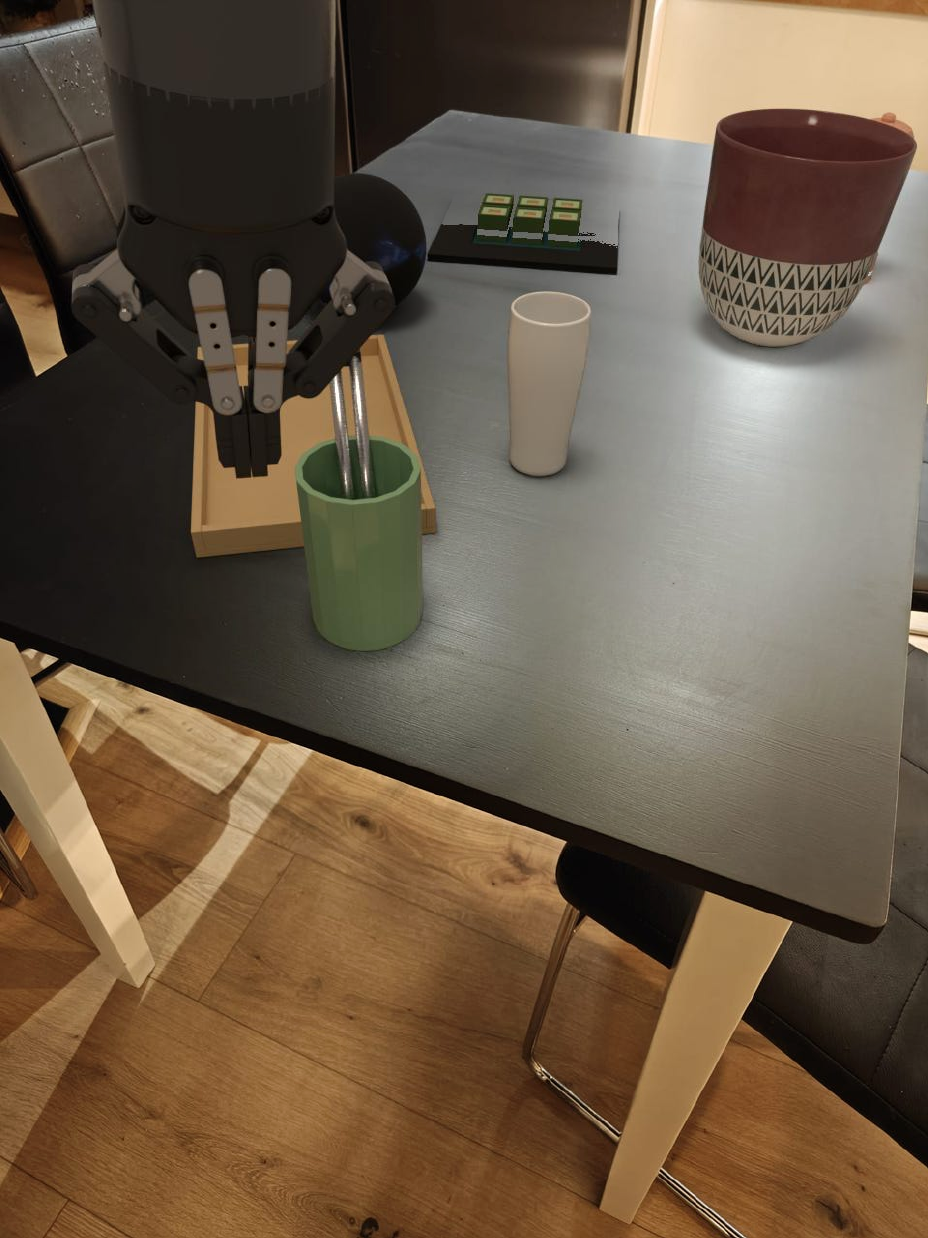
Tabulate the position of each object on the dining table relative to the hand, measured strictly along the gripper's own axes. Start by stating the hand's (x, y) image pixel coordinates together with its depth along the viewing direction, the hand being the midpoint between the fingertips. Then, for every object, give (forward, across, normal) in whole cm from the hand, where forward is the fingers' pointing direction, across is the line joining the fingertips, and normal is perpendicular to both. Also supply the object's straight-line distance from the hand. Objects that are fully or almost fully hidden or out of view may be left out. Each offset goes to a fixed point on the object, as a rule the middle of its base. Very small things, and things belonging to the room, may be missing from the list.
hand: (250, 466), depth 42 cm
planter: (+24, +62, +47) cm, 82 cm away
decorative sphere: (+28, +18, +64) cm, 72 cm away
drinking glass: (+24, +28, +28) cm, 46 cm away
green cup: (+23, +8, +11) cm, 27 cm away
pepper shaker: (+24, +82, +61) cm, 105 cm away
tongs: (+14, +8, +13) cm, 21 cm away
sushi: (+28, +46, +84) cm, 100 cm away
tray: (+26, +7, +36) cm, 45 cm away
